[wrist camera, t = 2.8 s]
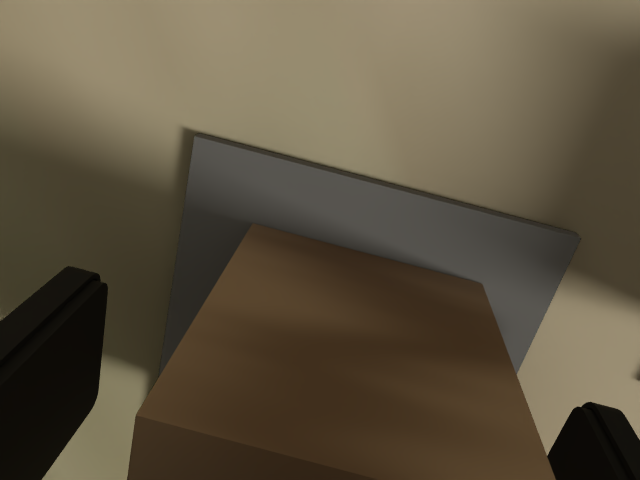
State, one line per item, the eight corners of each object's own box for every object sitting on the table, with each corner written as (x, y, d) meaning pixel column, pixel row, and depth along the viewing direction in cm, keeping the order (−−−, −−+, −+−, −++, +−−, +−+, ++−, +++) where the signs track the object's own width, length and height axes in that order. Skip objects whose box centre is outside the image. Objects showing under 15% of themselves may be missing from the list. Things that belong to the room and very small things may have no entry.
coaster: (576, 233, 11) (581, 238, 11) (448, 505, 14) (450, 515, 14) (199, 133, 11) (194, 135, 11) (153, 427, 14) (149, 435, 14)
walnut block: (482, 283, 12) (575, 532, 6) (411, 458, 14) (431, 764, 8) (253, 223, 12) (135, 415, 6) (214, 405, 14) (100, 676, 8)
